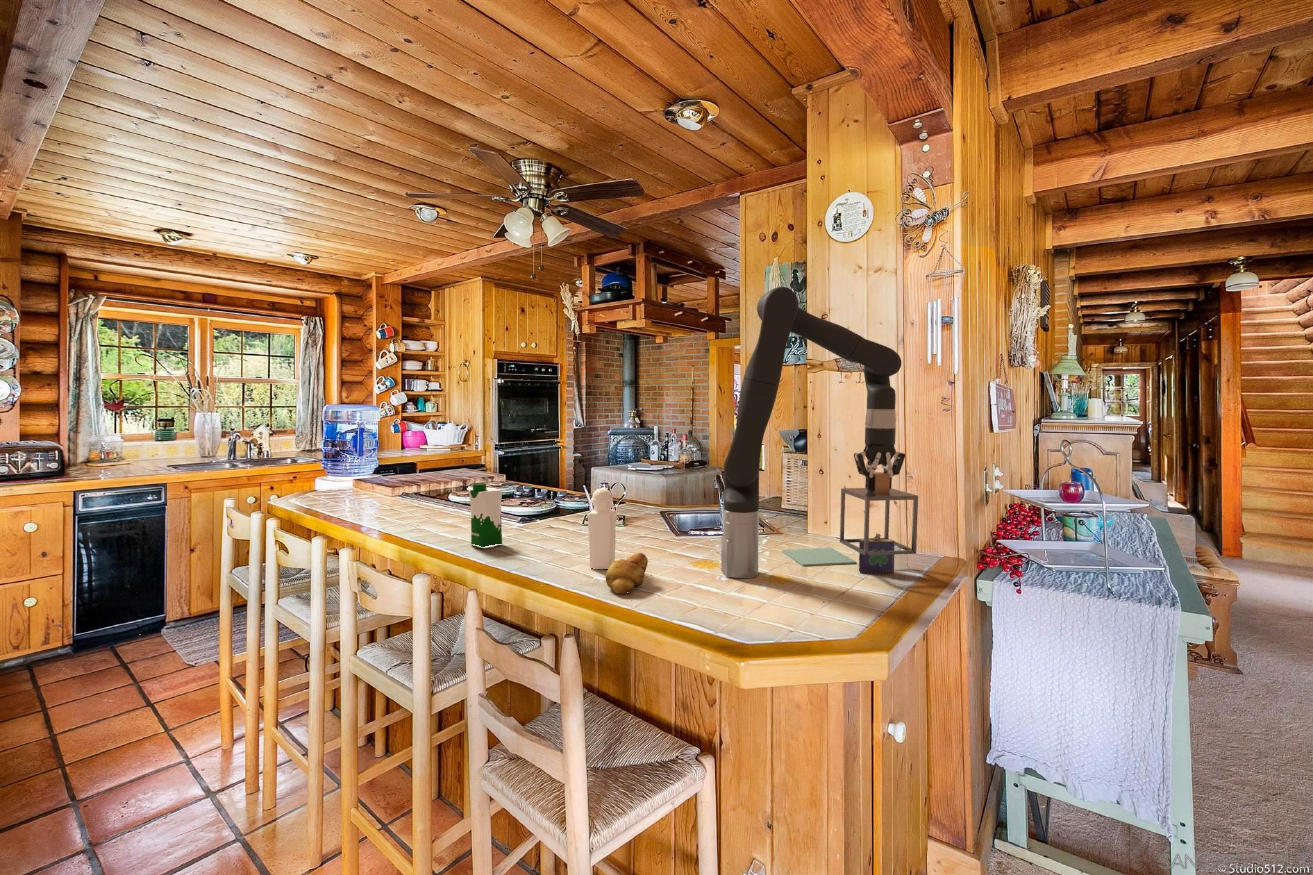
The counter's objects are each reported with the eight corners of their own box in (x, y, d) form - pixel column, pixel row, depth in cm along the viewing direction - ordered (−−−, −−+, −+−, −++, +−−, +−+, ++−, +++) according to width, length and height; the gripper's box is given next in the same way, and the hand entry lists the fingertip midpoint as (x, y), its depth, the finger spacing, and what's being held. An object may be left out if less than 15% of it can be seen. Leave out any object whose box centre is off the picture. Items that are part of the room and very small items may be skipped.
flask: (892, 571, 159) (893, 532, 158) (896, 574, 156) (897, 534, 155) (857, 571, 159) (858, 532, 158) (860, 574, 156) (861, 534, 155)
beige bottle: (616, 564, 166) (616, 486, 165) (611, 571, 160) (610, 490, 158) (594, 563, 167) (593, 486, 166) (587, 569, 161) (587, 489, 159)
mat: (802, 566, 164) (802, 564, 164) (782, 551, 179) (782, 549, 179) (856, 563, 166) (856, 561, 166) (831, 549, 182) (831, 547, 182)
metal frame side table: (865, 555, 149) (867, 477, 148) (839, 542, 163) (841, 470, 161) (916, 553, 151) (918, 476, 150) (886, 540, 165) (889, 469, 164)
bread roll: (634, 598, 138) (634, 564, 137) (595, 594, 141) (595, 561, 140) (650, 582, 150) (650, 551, 150) (614, 578, 153) (614, 548, 152)
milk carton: (467, 545, 187) (465, 483, 186) (492, 540, 194) (491, 480, 193) (481, 550, 181) (479, 486, 180) (506, 545, 188) (505, 483, 187)
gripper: (862, 427, 150) (860, 494, 151) (913, 427, 152) (911, 493, 153) (848, 425, 157) (846, 489, 159) (897, 425, 160) (895, 488, 161)
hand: (878, 490), depth 156 cm, fingers closed on metal frame side table, 4 cm apart
